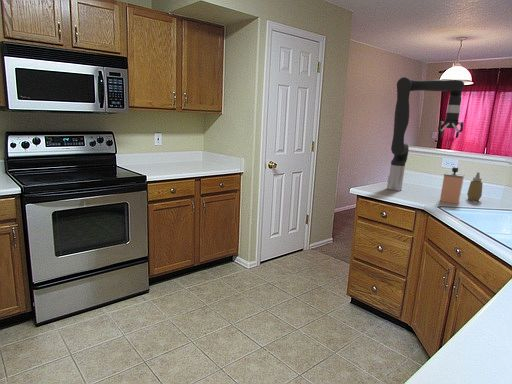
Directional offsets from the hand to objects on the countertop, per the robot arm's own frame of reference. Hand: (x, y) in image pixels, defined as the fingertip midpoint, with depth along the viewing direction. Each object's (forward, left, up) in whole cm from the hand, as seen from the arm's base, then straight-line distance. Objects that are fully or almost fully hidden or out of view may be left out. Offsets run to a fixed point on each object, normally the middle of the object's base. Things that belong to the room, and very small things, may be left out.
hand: (448, 137), depth 239 cm
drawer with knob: (+8, -17, -37) cm, 41 cm away
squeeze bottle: (+20, -1, -38) cm, 43 cm away
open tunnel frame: (+8, -17, -38) cm, 42 cm away
